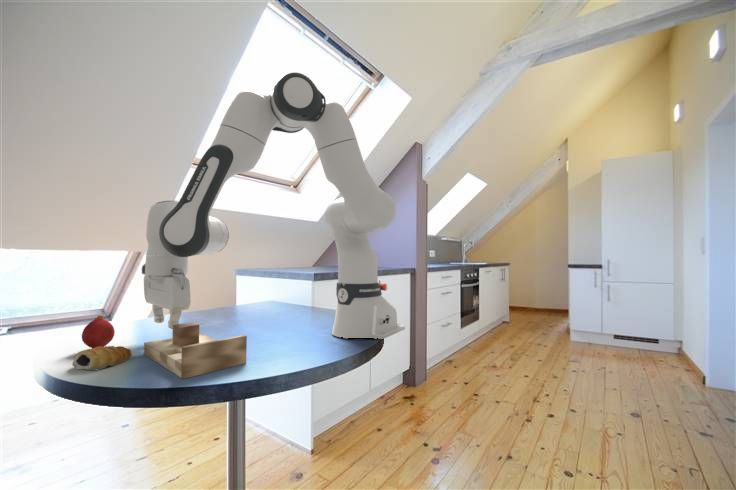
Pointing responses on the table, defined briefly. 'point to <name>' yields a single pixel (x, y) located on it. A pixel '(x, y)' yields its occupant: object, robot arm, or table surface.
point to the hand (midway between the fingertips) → (166, 325)
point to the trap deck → (198, 355)
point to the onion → (98, 332)
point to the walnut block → (185, 334)
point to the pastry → (101, 357)
